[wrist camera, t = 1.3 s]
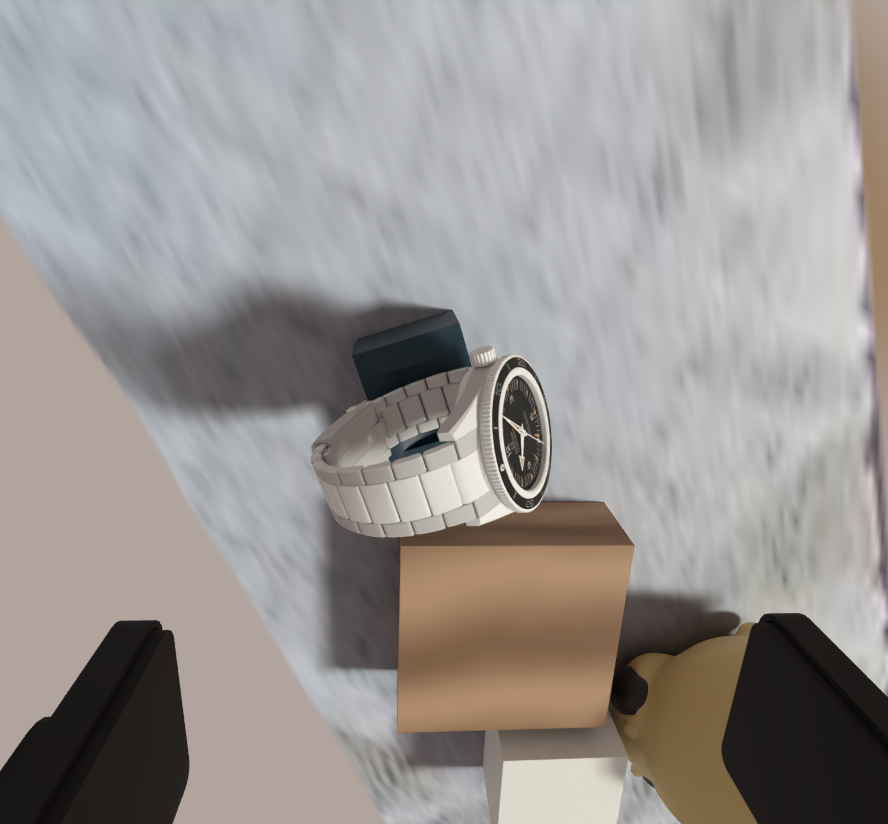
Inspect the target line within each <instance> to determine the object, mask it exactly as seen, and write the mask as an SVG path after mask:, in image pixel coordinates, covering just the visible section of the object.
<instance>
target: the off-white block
mask: <svg viewBox="0 0 888 824" xmlns="http://www.w3.org/2000/svg"><path fill="white" fill-rule="evenodd" d="M627 761H628V755H627V753H626V750H625V748H624V745H623V743H622V741H621V738H620V736H619V734H618V731H617V729H616V726H615V724H614V722H613V719H612V717H611V714H610V712H609V710H608V712H607V718H606V724H605V727H587V728H551V729H516V730H485V742H484V756H483V772H484V779H485V785H486V792H487V799H488V805H489V812H490V819H491V824H617V818H618V813H619V807H620V801H621V795H622V790H623V784H624V778H625V773H626V767H627Z"/></svg>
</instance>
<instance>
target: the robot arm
mask: <svg viewBox="0 0 888 824" xmlns="http://www.w3.org/2000/svg"><path fill="white" fill-rule="evenodd" d="M721 752H722V758H723V762H724V765H725V768H726V770H727V772H728V774H729V775H730V777H731V779H732V780H733V782H734V784H735V786H736V787H737V789H738V791H739V792H740V794H741V796H742V798H743V799H744V801H745V803H746V804H747V806H748V808H749V810H750V811H751V813H752V815H753V816H754V818H755V820H756V822H757V823H758V824H888V697H887V696H886V695H885V694H884V693H883V692H882V691H881V690H880V689H879V688H878V687H877V686H876V685H875V684H874V683H873V682H872V681H871V680H870V679H869V678H868V677H867V676H866V675H865V674H864V673H863V672H862V671H861V670H860V669H859V668H858V667H857V666H856V665H855V664H854V663H853V662H852V661H851V660H850V659H849V658H848V657H847V656H846V655H845V654H844V653H843V652H842V651H841V650H840V649H839V648H838V647H837V646H836V645H835V644H834V643H833V642H832V641H831V640H830V639H829V638H828V637H827V636H826V635H825V634H824V633H823V632H822V631H821V630H820V629H819V628H818V627H817V626H816V625H815V624H814V623H813V622H812V621H811V620H810V619H809V618H808V617H806V616H805V615H803V614H800V613H770V614H764V615H763V616H762V617H761V618H760V621H759V623H755V624H754V625H753V626H752V628H751V630H750V634H749V638H748V642H747V646H746V650H745V654H744V658H743V662H742V666H741V670H740V673H739V677H738V681H737V685H736V689H735V693H734V697H733V701H732V705H731V709H730V713H729V717H728V721H727V725H726V729H725V733H724V737H723V741H722V746H721ZM188 774H189V754H188V746H187V738H186V730H185V723H184V714H183V707H182V699H181V691H180V682H179V674H178V666H177V659H176V651H175V643H174V636H173V633H172V631H170V630H162V625H161V624H160V622H159V621H157V620H149V621H148V620H145V621H144V620H143V621H118V622H116V623H115V624H114V626H113V627H112V628H111V629H110V631H109V632H108V634H107V635H106V637H105V638H104V640H103V641H102V643H101V644H100V646H99V647H98V649H97V650H96V651H95V653H94V655H93V656H92V657H91V659H90V660H89V662H88V663H87V665H86V666H85V668H84V669H83V670H82V672H81V673H80V675H79V676H78V678H77V679H76V681H75V682H74V684H73V685H72V687H71V688H70V690H69V691H68V692H67V694H66V695H65V697H64V698H63V700H62V701H61V703H60V704H59V706H58V707H57V709H56V710H55V712H54V713H53V714H52V716H51V717H44V718H42V719H41V720H39V721H38V722H36V723H35V724H34V726H33V727H32V728H31V729H30V730H29V731H28V733H27V734H26V735H25V737H24V738H23V740H22V741H21V743H20V744H19V745H18V747H17V748H16V749H15V751H14V752H13V754H12V755H11V757H10V758H9V759H8V761H7V762H6V764H5V765H4V766H3V768H2V770H1V771H0V824H172V823H173V821H174V818H175V815H176V813H177V810H178V807H179V804H180V801H181V799H182V796H183V793H184V791H185V788H186V784H187V780H188Z"/></svg>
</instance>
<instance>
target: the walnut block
mask: <svg viewBox="0 0 888 824" xmlns="http://www.w3.org/2000/svg"><path fill="white" fill-rule="evenodd" d="M428 504H429V503H428ZM429 507H430V506H429ZM430 510H431V509H430ZM442 517H443V514H442ZM443 520H444V517H443ZM444 523H445V520H444ZM445 526H446V523H445ZM633 551H634V544H633V543H632V541H631V540H630V539H629V537H628V536H627V534H626V533H625V531H624V530H623V529H622V527H621V526H620V524H619V523H618V521H617V520H616V519H615V517H614V516H613V514H612V513H611V512H610V510H609V509H608V507H607V506H606V504H605V503H604V502H540V504H539V505H538V506H537V507H536V508H535V509H534V510H533V511H531V512H528V513H518V512H513V513H510V514H508V515H505V516H503V517H501V518H498V519H496V520H493V521H491V522H488V523H485V524H482V525H479V526H467V525H466V522H464V523H461V524H458V525H455V526H451V527H447V526H446V527H445V528H444V529H442V530H438V531H434V532H429V533H424V534H414V535H413V536H405V537H400V565H399V618H398V674H397V733H409V732H444V731H480V730H516V729H551V728H587V727H605V724H606V718H607V712H608V706H609V700H610V693H611V687H612V681H613V675H614V668H615V662H616V656H617V650H618V644H619V637H620V631H621V625H622V619H623V613H624V606H625V600H626V594H627V588H628V582H629V575H630V569H631V563H632V557H633Z"/></svg>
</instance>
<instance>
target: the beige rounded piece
mask: <svg viewBox="0 0 888 824" xmlns="http://www.w3.org/2000/svg"><path fill="white" fill-rule="evenodd" d="M754 624H755V623H752V622H748V623H745V624H743V625H741V626H740V627H739V629H738V630H737V632H736V634H735V636H722V637H716V638H712V639H708V640H705V641H703V642H700V643H698V644H696V645H694V646H692V647H690V648H689V649H687V650H685V651H683V652H682V653H680V654H678V655H676V656H672V655H668V654H662V653H647V654H643V655H640V656H638V657H636V658H635V659H633V660H632V661H631V662H630V663H629V664H628V665H627V666H625V667H623V668H621V669H619V670H618V671H617V672H616V673H615V674H614V675H613V681H612V687H611V693H610V699H611V701H612V704H613V721H614V724H615V726H616V729H617V731H618V734H619V736H620V738H621V741H622V743H623V745H624V748H625V750H626V753H627V755H628V759H629V761H630V762H631V763H632V765H631V772H632V773H633V775H634V776H638V777H639V776H642V777H643V778H644V780H645V781H646V782H647V783H648V784H649V785H651V786H652V787H653V788H655V789H656V791H657V793H658V795H659V797H660V798H661V800H662V801H663V803H664V804H665V805H666V807H667V808H668V809H669V811H670V812H671V813H672V814H673V815H674V816H675V817H676V819H677V820H678V821H679V822H680V823H681V824H758V823H757V822H756V820H755V818H754V816H753V815H752V813H751V811H750V810H749V808H748V806H747V804H746V803H745V801H744V799H743V798H742V796H741V794H740V792H739V791H738V789H737V787H736V786H735V784H734V782H733V780H732V779H731V777H730V775H729V774H728V772H727V770H726V768H725V765H724V762H723V758H722V752H721V746H722V741H723V737H724V733H725V729H726V725H727V721H728V717H729V713H730V709H731V705H732V701H733V697H734V693H735V689H736V685H737V681H738V677H739V673H740V670H741V666H742V662H743V658H744V654H745V650H746V646H747V642H748V638H749V634H750V630H751V628H752V626H753V625H754Z"/></svg>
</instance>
